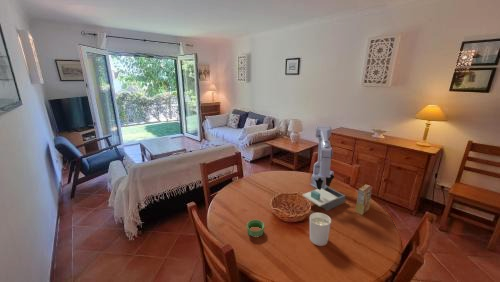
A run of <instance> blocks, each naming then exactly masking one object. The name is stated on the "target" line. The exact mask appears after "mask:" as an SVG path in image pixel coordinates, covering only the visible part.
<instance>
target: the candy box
mask: <svg viewBox="0 0 500 282" xmlns="http://www.w3.org/2000/svg"><path fill="white" fill-rule="evenodd" d="M372 192H373V186H372V185H370V184H369V185H368V184H367V183H365V184H364V185H362V186H361V187H359V188H358V191H357V198H356V199H357V200H356V204H355V213H357V214H358V215H360V216H363V215H364V214H365V213H366V212H368V211H369V209H370V203H371V198H372Z"/></svg>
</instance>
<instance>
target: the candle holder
mask: <svg viewBox="0 0 500 282" xmlns="http://www.w3.org/2000/svg"><path fill="white" fill-rule="evenodd" d="M331 224H332V218H331V216H329V215H328V214H325V213H323V212H313V213H311V214H310V215H309V241H310V242H311V243H312V244H314V245H316V246H320V247H323V246H326V245H327V244H328V242H329V241H328V240H329V237H330V230H331Z"/></svg>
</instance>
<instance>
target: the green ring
mask: <svg viewBox="0 0 500 282" xmlns="http://www.w3.org/2000/svg"><path fill="white" fill-rule="evenodd" d="M251 227H259V228H261V230H259V231H252V230H250V228H251ZM246 228H247V234H248V235H249V236H250V235H251V236H256V237H255V238H258V237H257V236H260V237H262V235H263V234H264V229H265V224H264V222H263V221H262V220H260V219H252V220H250V221H248V222H247V224H246ZM251 236H250V237H251Z"/></svg>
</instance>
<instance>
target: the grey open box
mask: <svg viewBox="0 0 500 282" xmlns="http://www.w3.org/2000/svg"><path fill="white" fill-rule="evenodd" d="M322 189H324V190H325V191H327V192H329V193H331V194H333V195H335V196H337V197H338V199H336V200H334V201H331V202H329V203H327V204H325V205H322V206H320V208H321V209H324V210H325V211H328V212H329V211H330V210H332V209H335V208H337V207H338V206H340V205H343V204H345V202H346V195H345V194H344V193H341V192H339V191H337V190H336V189H333V188H332V187H330V186H329V187H328V186H327V187H325V188H322Z"/></svg>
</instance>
